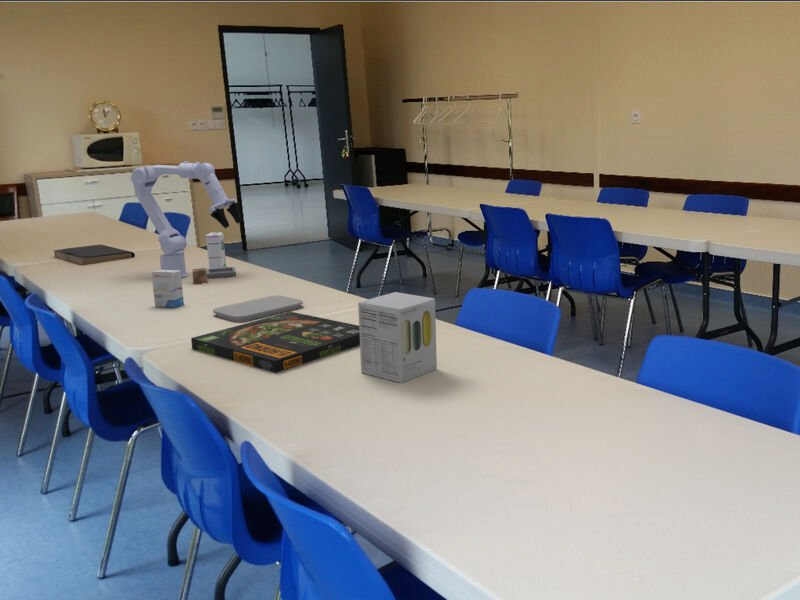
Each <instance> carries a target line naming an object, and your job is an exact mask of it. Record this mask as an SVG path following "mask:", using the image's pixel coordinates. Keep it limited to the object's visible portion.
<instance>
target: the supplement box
mask: <svg viewBox="0 0 800 600" xmlns="http://www.w3.org/2000/svg"><path fill="white" fill-rule="evenodd" d="M357 304H358V306H357V307H358V326H359V332H360V345H359V347H360V348H359V353H360V372H361V373H362V374H366V375H369V376H373V377H378V378H381V379H385V380H388V381H392V382H396V383H399V384H402V383H405V382H407V381H410V380H413V379H414V378H415V379H416V378H417V377H419V376H422V375H425V374H428V373H430V372H433V371H435V370H437V368H438V364H437V363H438V362H437V328H436V327H437V323H436V322H437V321H436V298H434V297H428V296H421V295H415V294H410V293H403V292H397V291H394V292H390V293H386V294H384V295H379V296H375V297H373V298H369V299H366V300H365V299H364V300H362V301H359V302H357Z"/></svg>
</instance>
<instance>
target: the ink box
mask: <svg viewBox="0 0 800 600" xmlns="http://www.w3.org/2000/svg"><path fill="white" fill-rule="evenodd" d="M151 279H152V291H153V298H154V307H155V306H162V307H161V308H173V307H176V308H178V306H179V307H181V306H184V305H185V302H184V291H183V282H182V277H181V271H180V270H161V269H159V270H154V271H152V272H151ZM183 304H184V305H183Z"/></svg>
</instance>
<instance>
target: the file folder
mask: <svg viewBox="0 0 800 600" xmlns="http://www.w3.org/2000/svg"><path fill="white" fill-rule="evenodd" d="M53 253H54V254H53V255H54V258H57V259H61V260H62V261H63V260H64V261H68V262H70V263H75V264H78V265H81V266H87V265H95V264H100V263H101V264H102V263H109V262H113V261H114V262H115V261H120V260H127V259H132V258H133V259H134V258H135V256H136V255H135V253H134V252H133V251H130V250H125V249H122V248H121V249H120V248H118V247H113V246H108V245H105V244H93V245H85V246H77V247H76V246H75V247H68V248H62V249H54V250H53Z"/></svg>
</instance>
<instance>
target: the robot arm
mask: <svg viewBox="0 0 800 600" xmlns="http://www.w3.org/2000/svg"><path fill="white" fill-rule="evenodd" d="M215 173H216V170H215V167H214V165H213V164H211V163H210V162H204V163H201V162H200V161H196V162H194V163H193V162H189V161H188V160H187V161H185V160H184V161H183V162H181V163H180V164H179V165H166V164H163V165H162V164H155V165H149V166H147V165H146V166H143V167H139V166H138V167H135V168H134V169H133V170H132V173H131V174H130V175H131V176H130V180H131V182H132V184H133V189H134V195H135V196H136V198H137V200H138V202H139V203H140V204H141V207H142V209H143V210H144V211H145V213H146V215H147V216H148V218H149V219H150V222H151V223H152V224H153V226H154V228H155V229H156V231H157V233H158V239H157V240H158V242H159V244H160V245H159V246H160V250H161V251H162V253H164V254H160V255H159V263H160V270H180V271H181V278H187V277H188V272H187V271H186V269H187V268H186V259H185V249H186V247H187V239H186V238H185V237H184V236H183V235H181V234H180V232H179V231H178V230H177V229H175V228H174V227H172V224H171V223H170V222H169V220H168V218H167V216H166V215H165V214H164V212H163V210H162V208H161V207H160V206H159V203H158V202H157V201H156V199H155V197H154V196H153V194H152V190H153V187H154V185H155V184H156V182H157V181H158V179H159V178H160V177H162V175H177V176H179V178H181V179H196V180H200V183H201V184H202V185H203V188H204V190H205V191H206V192H207V194H208V196H209V198H210V200H211V202H212V204H213V205H211V206H209V207H208V211H209V213H210V217H212V218H213V219H214V220H216V221H217V222H218V223H219V224H220V225H221V226H222V227H223V228H224V229H227V228H229V227H230V224H229V221H228V219H227V217H226V214H225V208H227V207H228V208H227V209H226V211H227V213H229V214H230V215H231V217H232V218H233V220H234V221H235V223H236V224H239V223H241V222H243V220H242V217H241V213H240V203H239V202H238V200H237V199H236V198H228V197H227V196H228V195H227V194H226V192H225V190H224V189H223V187H222V185H221V183H220V182H219V179H218V178H217V175H216V174H215Z"/></svg>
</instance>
